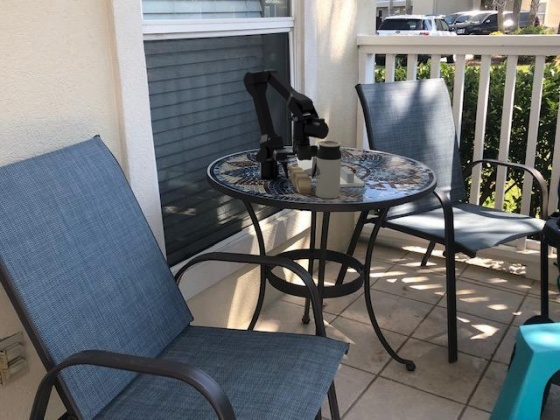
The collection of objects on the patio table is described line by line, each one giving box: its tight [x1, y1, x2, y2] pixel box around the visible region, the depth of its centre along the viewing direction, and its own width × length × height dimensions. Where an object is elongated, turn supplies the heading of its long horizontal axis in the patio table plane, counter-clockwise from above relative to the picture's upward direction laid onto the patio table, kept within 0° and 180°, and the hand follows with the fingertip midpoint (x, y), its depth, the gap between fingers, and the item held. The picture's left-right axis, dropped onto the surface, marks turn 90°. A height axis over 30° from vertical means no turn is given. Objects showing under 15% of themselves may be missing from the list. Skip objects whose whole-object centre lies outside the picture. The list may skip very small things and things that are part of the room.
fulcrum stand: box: [340, 166, 366, 188], centre depth 207 cm, size 10×12×4 cm
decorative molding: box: [295, 154, 316, 176], centre depth 233 cm, size 34×5×10 cm
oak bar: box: [289, 166, 312, 194], centre depth 201 cm, size 18×4×5 cm, turn 9°
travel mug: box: [315, 140, 342, 200], centre depth 188 cm, size 8×8×18 cm
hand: (299, 178), depth 201 cm, fingers open, 9 cm apart
